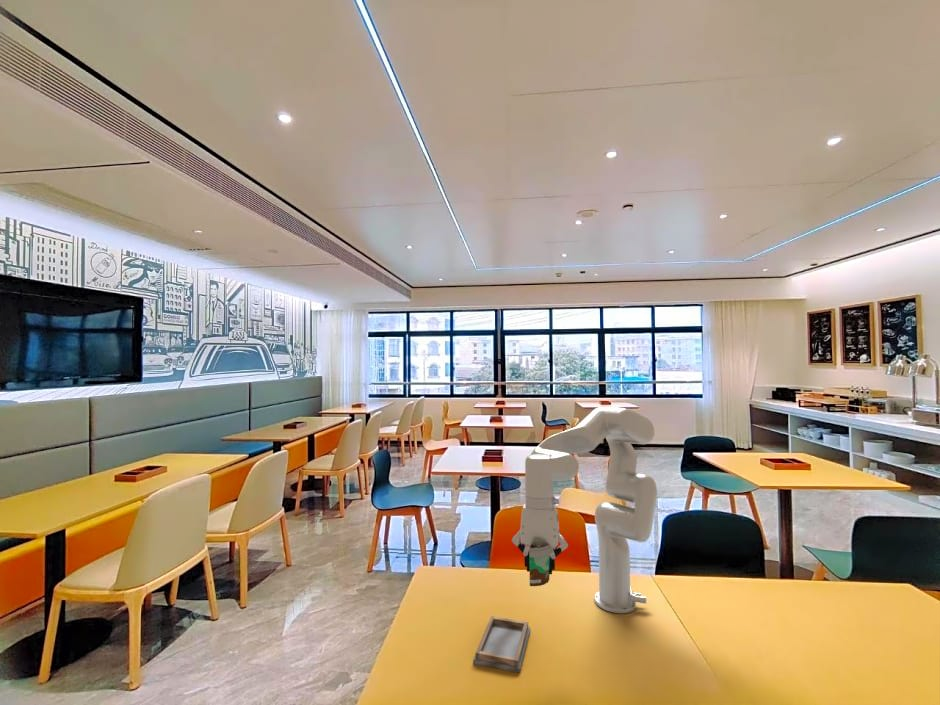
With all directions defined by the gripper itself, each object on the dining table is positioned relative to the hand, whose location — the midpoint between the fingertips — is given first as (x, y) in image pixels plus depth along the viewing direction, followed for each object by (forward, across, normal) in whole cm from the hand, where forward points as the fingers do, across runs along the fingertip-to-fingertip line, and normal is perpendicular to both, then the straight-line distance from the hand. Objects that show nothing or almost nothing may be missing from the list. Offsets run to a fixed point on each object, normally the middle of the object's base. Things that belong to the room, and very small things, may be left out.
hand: (539, 570), depth 114 cm
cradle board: (+22, +10, 0) cm, 24 cm away
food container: (+2, -1, 0) cm, 2 cm away
